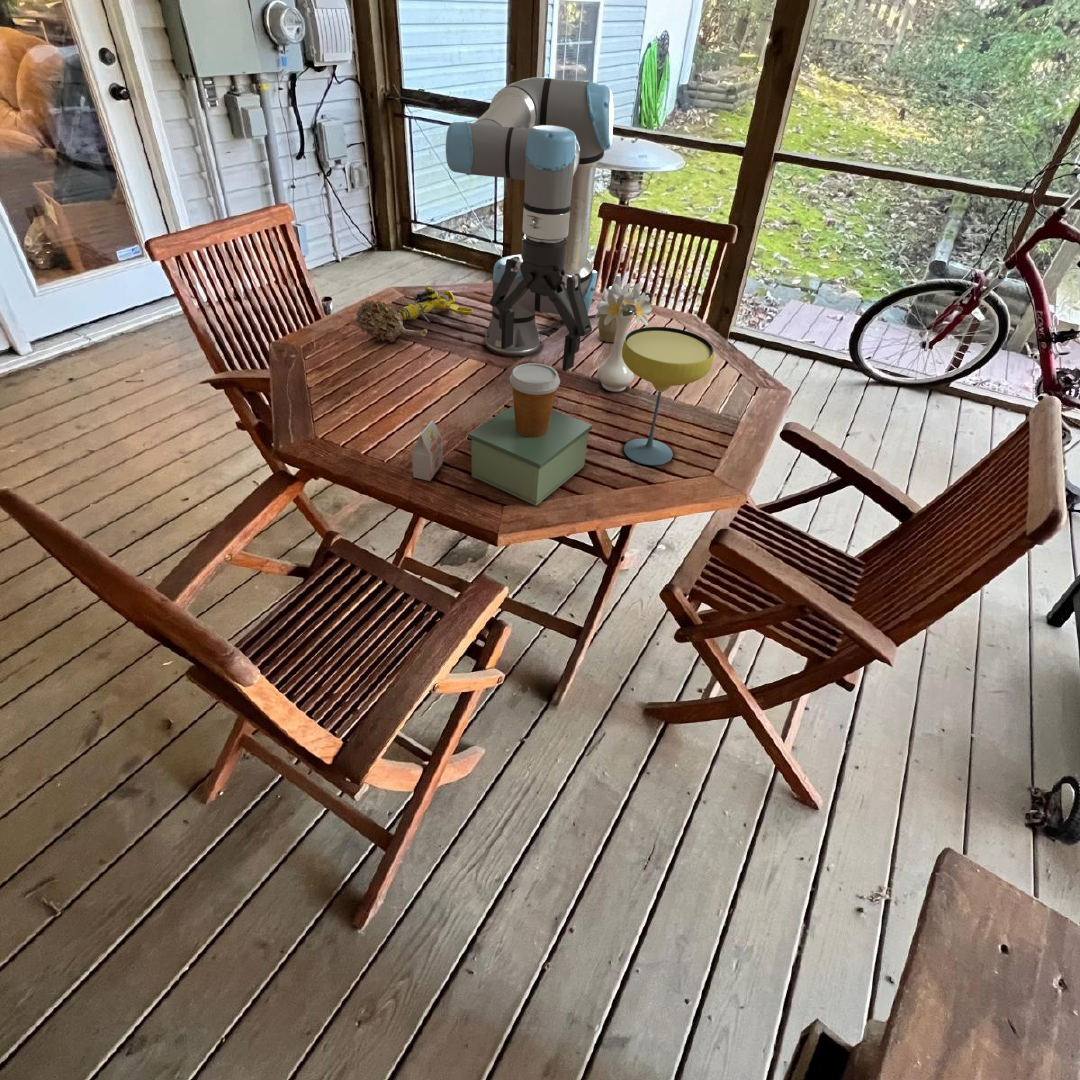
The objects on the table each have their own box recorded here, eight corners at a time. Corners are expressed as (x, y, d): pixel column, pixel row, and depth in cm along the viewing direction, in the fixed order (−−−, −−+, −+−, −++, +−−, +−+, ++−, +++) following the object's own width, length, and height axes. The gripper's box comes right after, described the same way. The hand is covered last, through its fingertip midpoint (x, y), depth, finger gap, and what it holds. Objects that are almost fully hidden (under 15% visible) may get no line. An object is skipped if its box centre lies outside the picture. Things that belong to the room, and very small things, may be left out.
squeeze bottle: (628, 338, 199) (638, 275, 187) (615, 347, 193) (625, 282, 182) (604, 330, 202) (612, 268, 190) (590, 339, 196) (598, 275, 185)
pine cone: (349, 340, 185) (345, 303, 179) (368, 327, 192) (364, 292, 186) (423, 356, 180) (421, 320, 174) (439, 343, 187) (438, 307, 181)
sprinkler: (382, 289, 196) (435, 272, 207) (384, 314, 201) (435, 296, 212) (427, 312, 187) (479, 293, 199) (428, 338, 192) (478, 318, 204)
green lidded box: (521, 438, 152) (524, 398, 145) (587, 466, 145) (592, 424, 139) (467, 476, 139) (467, 433, 133) (536, 508, 132) (540, 464, 126)
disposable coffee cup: (550, 445, 132) (555, 388, 124) (502, 437, 133) (504, 380, 125) (559, 421, 139) (564, 366, 131) (513, 414, 140) (516, 358, 132)
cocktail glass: (688, 481, 143) (716, 370, 127) (603, 468, 145) (619, 356, 129) (689, 437, 157) (714, 332, 141) (611, 426, 159) (627, 321, 143)
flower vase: (640, 373, 181) (656, 277, 166) (635, 405, 167) (652, 304, 151) (591, 366, 183) (603, 270, 167) (582, 397, 168) (594, 296, 153)
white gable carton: (413, 477, 138) (410, 434, 131) (426, 460, 143) (424, 417, 136) (430, 481, 137) (428, 437, 131) (442, 463, 142) (441, 421, 136)
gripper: (471, 224, 115) (470, 343, 129) (598, 260, 105) (583, 385, 119) (497, 215, 120) (494, 331, 134) (622, 249, 110) (605, 370, 124)
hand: (536, 357), depth 126 cm, fingers open, 13 cm apart
